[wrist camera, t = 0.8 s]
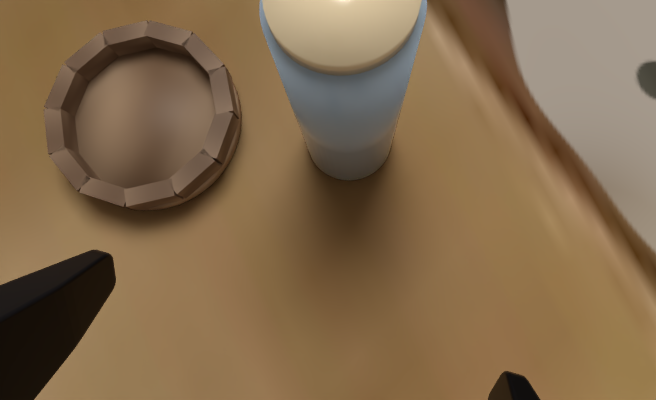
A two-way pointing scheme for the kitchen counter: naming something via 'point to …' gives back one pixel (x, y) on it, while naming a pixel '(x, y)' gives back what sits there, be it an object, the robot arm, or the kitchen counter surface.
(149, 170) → the walnut tray
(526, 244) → the kitchen counter surface
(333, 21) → the bead jar
